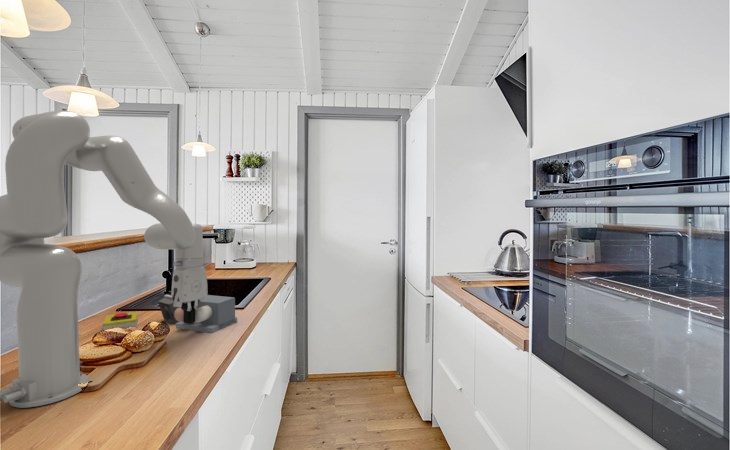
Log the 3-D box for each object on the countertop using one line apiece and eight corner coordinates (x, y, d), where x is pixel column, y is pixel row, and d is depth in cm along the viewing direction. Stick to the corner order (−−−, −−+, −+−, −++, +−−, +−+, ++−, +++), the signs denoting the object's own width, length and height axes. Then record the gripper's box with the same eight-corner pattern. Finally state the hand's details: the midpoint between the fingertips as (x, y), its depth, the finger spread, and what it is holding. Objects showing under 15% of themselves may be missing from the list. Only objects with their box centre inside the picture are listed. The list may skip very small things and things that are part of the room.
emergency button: (101, 321, 109) (106, 310, 121) (101, 335, 109) (106, 322, 122) (136, 317, 114) (138, 306, 126) (136, 330, 114) (138, 318, 126)
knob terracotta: (185, 322, 110) (184, 308, 110) (174, 321, 111) (174, 307, 111) (211, 312, 121) (211, 300, 120) (201, 311, 122) (201, 299, 122)
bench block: (211, 333, 110) (211, 305, 109) (175, 327, 114) (175, 301, 114) (237, 321, 121) (236, 296, 121) (203, 317, 126) (202, 293, 125)
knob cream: (200, 323, 108) (200, 310, 108) (190, 322, 110) (189, 308, 110) (226, 313, 119) (226, 301, 119) (216, 312, 121) (216, 300, 120)
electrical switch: (188, 321, 121) (185, 296, 120) (173, 327, 117) (170, 300, 116) (173, 317, 126) (170, 292, 125) (159, 322, 122) (155, 297, 121)
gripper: (178, 267, 98) (178, 331, 98) (216, 261, 112) (216, 317, 113) (158, 266, 101) (158, 328, 101) (198, 260, 115) (198, 315, 115)
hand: (189, 322), depth 107 cm, fingers closed
